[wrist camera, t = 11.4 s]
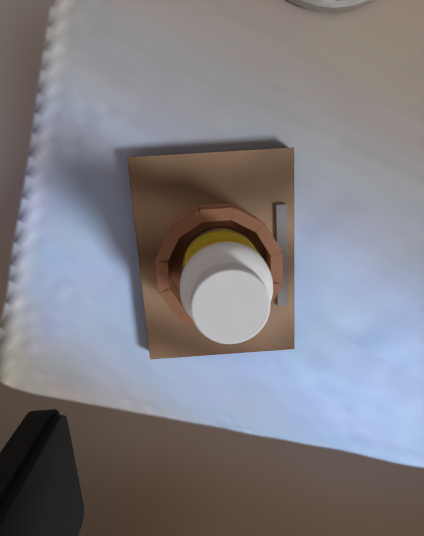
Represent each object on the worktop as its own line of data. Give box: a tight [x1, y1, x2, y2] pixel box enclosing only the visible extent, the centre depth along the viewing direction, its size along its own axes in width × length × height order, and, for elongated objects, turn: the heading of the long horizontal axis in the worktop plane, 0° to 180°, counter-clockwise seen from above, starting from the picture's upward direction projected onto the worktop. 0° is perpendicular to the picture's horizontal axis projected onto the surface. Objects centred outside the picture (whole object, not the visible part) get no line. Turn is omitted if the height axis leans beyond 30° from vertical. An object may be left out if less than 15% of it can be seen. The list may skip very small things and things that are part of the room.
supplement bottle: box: [180, 226, 273, 344], centre depth 23 cm, size 5×5×10 cm
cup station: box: [127, 147, 294, 359], centre depth 27 cm, size 16×12×5 cm
